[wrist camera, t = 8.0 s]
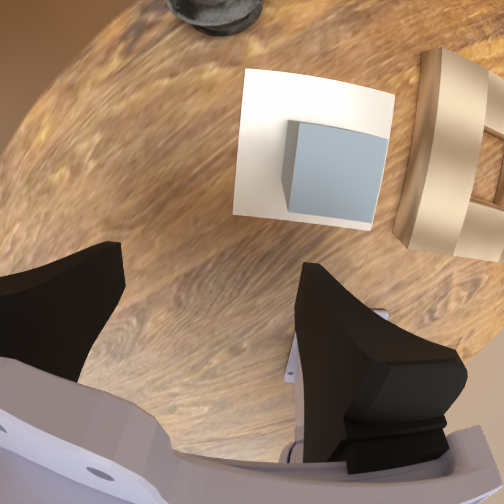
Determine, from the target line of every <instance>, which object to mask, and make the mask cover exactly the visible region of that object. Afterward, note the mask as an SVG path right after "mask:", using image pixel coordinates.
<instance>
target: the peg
mask: <svg viewBox="0 0 504 504" xmlns="http://www.w3.org/2000/svg"><path fill="white" fill-rule="evenodd" d="M387 144H388V139H385V138H382V137H378V136H374V135H370V134H366V133H362V132H357V131H353V130H349V129H344V128H338V127H333V126H327V125H321V124H315V123H309V122H302V121H295V120H288V125H287V133H286V142H285V150H284V159H283V167H282V175H281V181H282V186H283V191H284V196H285V200H286V205H287V210H288V212H291V213H299V214H307V215H315V216H323V217H331V218H338V219H345V220H352V221H360V222H366V223H372V219H373V215H374V211H375V206H376V202H377V197H378V193H379V188H380V183H381V178H382V173H383V167H384V162H385V156H386V150H387Z"/></svg>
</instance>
